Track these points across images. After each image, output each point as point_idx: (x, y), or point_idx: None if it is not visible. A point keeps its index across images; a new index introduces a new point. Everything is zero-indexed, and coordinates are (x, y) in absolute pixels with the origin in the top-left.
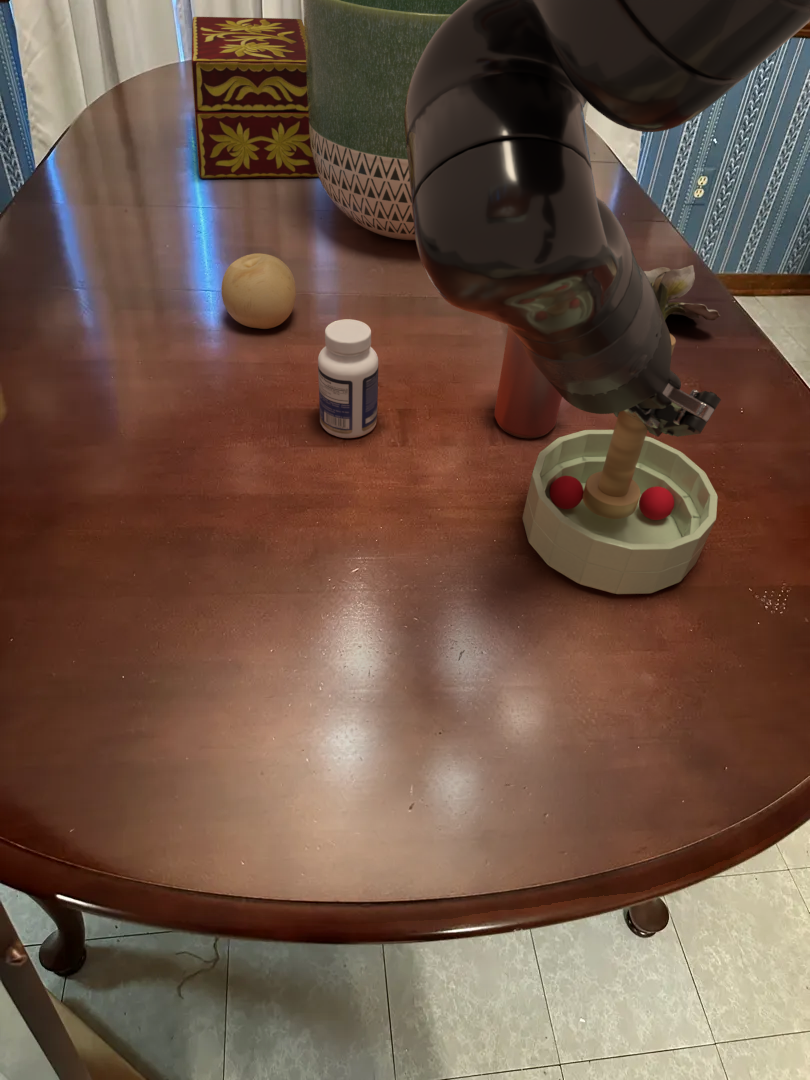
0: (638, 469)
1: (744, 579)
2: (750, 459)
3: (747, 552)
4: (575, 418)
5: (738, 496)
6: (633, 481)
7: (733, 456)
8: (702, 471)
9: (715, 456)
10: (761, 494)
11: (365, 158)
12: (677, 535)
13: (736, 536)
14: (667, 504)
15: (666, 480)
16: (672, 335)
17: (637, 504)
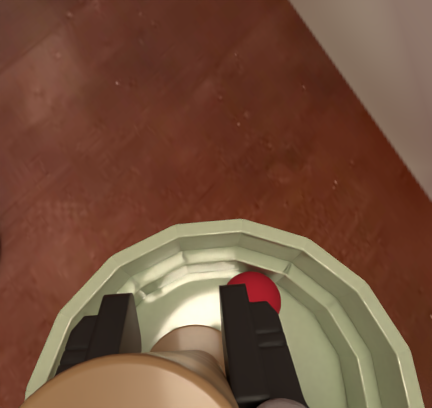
0: (185, 265)
1: (415, 304)
2: (263, 72)
3: (381, 248)
4: (13, 180)
5: (299, 152)
6: (210, 330)
7: (243, 83)
8: (304, 240)
9: (226, 101)
10: (317, 125)
11: None
12: (303, 312)
13: (350, 230)
14: (276, 308)
15: (239, 257)
16: (181, 373)
17: (216, 299)
